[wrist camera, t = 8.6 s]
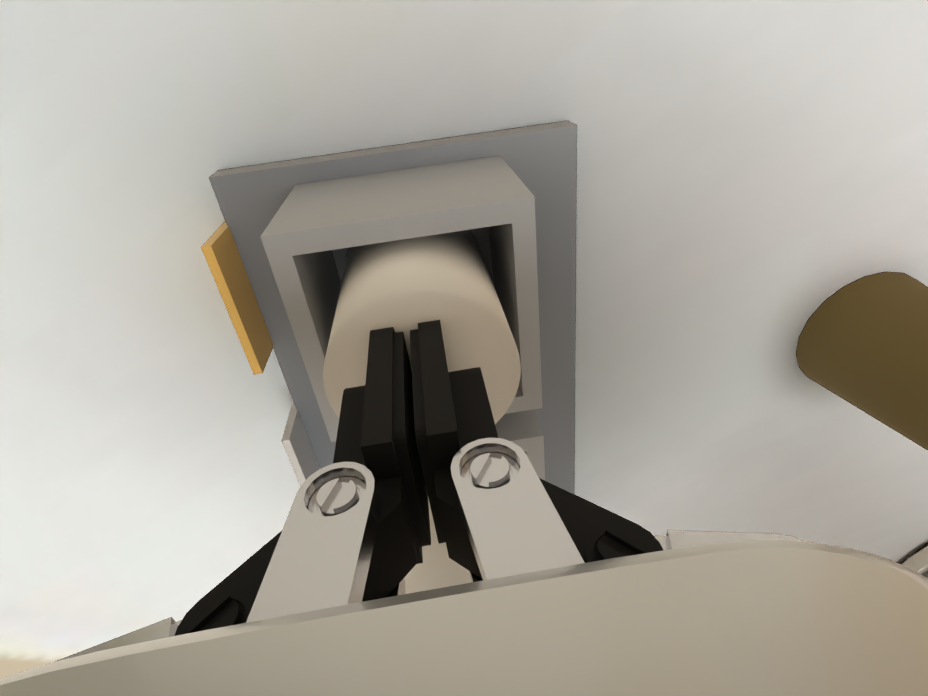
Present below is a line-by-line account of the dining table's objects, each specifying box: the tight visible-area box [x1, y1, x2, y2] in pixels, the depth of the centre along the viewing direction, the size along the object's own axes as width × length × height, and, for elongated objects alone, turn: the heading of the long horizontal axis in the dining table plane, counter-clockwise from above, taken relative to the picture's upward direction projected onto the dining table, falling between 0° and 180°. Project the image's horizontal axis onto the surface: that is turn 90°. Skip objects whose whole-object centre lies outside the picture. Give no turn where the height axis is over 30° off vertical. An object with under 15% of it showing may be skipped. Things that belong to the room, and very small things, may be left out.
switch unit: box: [201, 121, 577, 494], centre depth 21 cm, size 24×12×6 cm, turn 6°
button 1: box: [323, 230, 521, 424], centre depth 15 cm, size 5×5×7 cm
